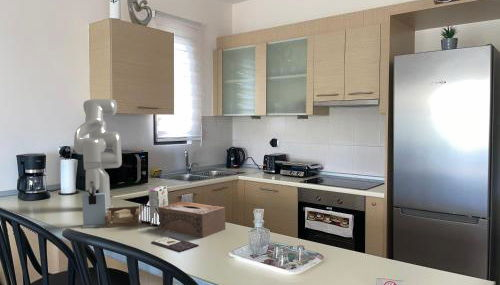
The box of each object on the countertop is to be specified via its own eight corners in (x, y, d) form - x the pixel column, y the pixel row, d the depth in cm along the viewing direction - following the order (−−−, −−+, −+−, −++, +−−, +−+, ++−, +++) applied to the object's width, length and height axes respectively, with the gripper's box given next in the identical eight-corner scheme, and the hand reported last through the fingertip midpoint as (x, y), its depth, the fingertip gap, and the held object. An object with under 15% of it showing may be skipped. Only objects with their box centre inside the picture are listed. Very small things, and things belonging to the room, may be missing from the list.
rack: (109, 220, 201) (108, 207, 201) (139, 217, 204) (139, 205, 204) (105, 227, 187) (104, 214, 187) (137, 225, 190) (137, 212, 190)
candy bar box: (159, 219, 200) (158, 186, 198) (169, 219, 199) (168, 186, 197) (149, 225, 189) (148, 190, 188) (159, 226, 188) (158, 190, 187)
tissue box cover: (159, 229, 183) (158, 207, 182) (183, 222, 194) (182, 201, 194) (203, 238, 168) (202, 214, 167) (225, 230, 179) (224, 207, 179)
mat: (85, 222, 197) (85, 221, 197) (108, 220, 199) (108, 220, 199) (81, 228, 187) (81, 227, 187) (105, 226, 189) (105, 225, 189)
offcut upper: (114, 217, 191) (114, 211, 190) (125, 214, 196) (125, 209, 196) (119, 218, 189) (119, 212, 188) (130, 215, 194) (130, 209, 194)
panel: (84, 223, 194) (83, 194, 193) (107, 221, 196) (105, 192, 195) (83, 225, 190) (81, 195, 189) (106, 223, 192) (104, 194, 191)
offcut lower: (112, 224, 193) (112, 216, 193) (132, 222, 196) (132, 214, 196) (113, 226, 189) (112, 218, 189) (133, 224, 192) (132, 216, 192)
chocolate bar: (179, 251, 150) (151, 241, 162) (180, 253, 150) (151, 244, 162) (198, 244, 157) (169, 236, 169) (198, 247, 157) (169, 238, 169)
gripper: (87, 163, 199) (89, 198, 200) (80, 168, 182) (82, 206, 183) (103, 163, 200) (105, 197, 202) (98, 167, 184) (100, 205, 185)
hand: (94, 202), depth 193 cm, fingers open, 9 cm apart
